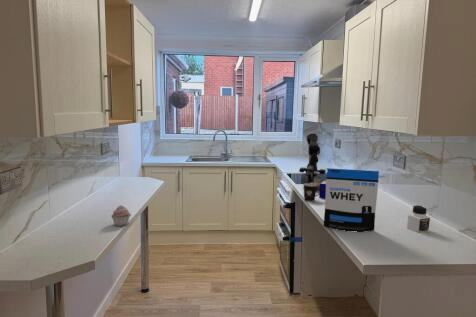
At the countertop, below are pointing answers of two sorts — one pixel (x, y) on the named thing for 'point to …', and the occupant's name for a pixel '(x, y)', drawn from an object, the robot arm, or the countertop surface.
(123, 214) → the cupcake
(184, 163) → the countertop surface
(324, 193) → the puzzle cube
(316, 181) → the maple block
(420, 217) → the medicine bottle
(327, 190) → the protein powder
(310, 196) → the coffee mug
